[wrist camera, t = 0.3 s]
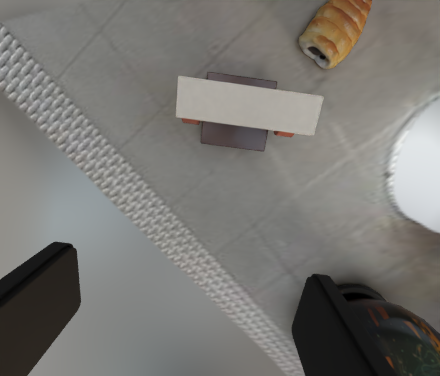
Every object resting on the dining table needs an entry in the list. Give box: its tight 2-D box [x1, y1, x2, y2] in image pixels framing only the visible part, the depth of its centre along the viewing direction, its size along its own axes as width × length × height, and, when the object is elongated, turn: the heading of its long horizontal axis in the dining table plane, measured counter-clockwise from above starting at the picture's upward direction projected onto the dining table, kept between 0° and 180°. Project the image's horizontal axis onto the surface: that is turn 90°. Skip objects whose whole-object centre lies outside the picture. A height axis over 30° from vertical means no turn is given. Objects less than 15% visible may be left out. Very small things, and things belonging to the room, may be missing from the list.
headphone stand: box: [201, 72, 277, 151], centre depth 26 cm, size 10×10×14 cm
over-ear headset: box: [176, 76, 324, 137], centre depth 23 cm, size 4×14×12 cm, turn 83°
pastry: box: [299, 0, 372, 69], centre depth 27 cm, size 9×7×4 cm
